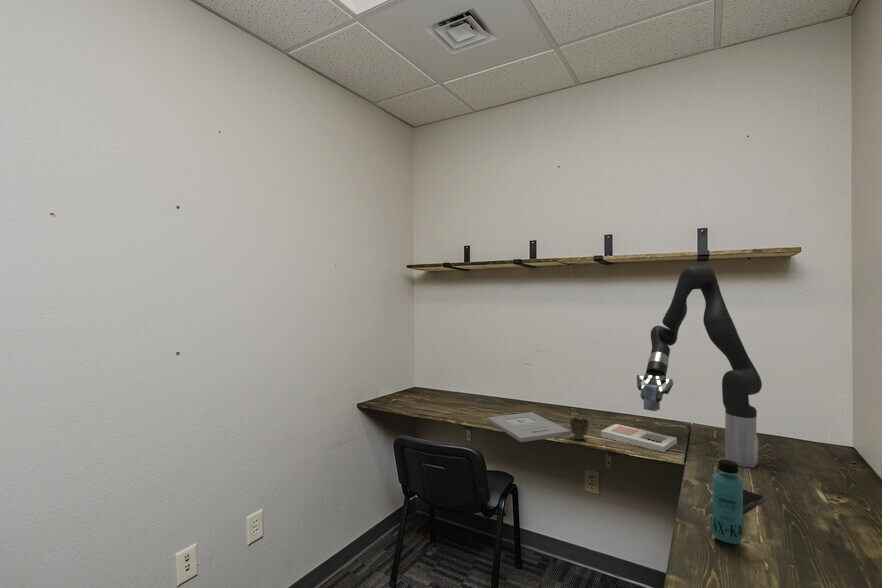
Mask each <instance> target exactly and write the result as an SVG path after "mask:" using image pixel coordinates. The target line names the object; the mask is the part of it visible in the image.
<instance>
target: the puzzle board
mask: <svg viewBox="0 0 882 588" xmlns="http://www.w3.org/2000/svg"><path fill="white" fill-rule="evenodd" d="M600 437H601V438H605V439H607V438H608V439H607V440H611V439H612V441H615V440H616V441H615V442H619V441H620V443H623V442H624V444H627V443H629V444H628V445H630V444H633V445H632V446H634V445H637V446H636V447H638V446H641V447H640V448H642V447H646V448H650V449H654V450H658V451H662V452H665V451H666V450H668V449H669V448H671V447H672V446H673V445H675V444H676V443H677V442H678V438H677V437H675V436H671V435H670V436H669V435H665V434H661V433H657V432H653V431H649V430H645V429H641V428H640V429H639V428H636V427H632V426H626V425H622V424H618V423H614V424H612V425H610V426H608V427H606V428H603V429H602V430H601V431H600ZM648 439H650V440H648ZM652 440H655V441H652ZM656 441H659V442H656ZM660 442H661V443H660ZM677 444H678V443H677ZM677 444H676V445H677ZM676 445H675V446H676ZM673 447H674V446H673ZM673 447H672V448H673ZM646 448H645V449H646ZM672 448H671V449H672ZM650 449H649V450H650ZM654 450H653V451H654ZM669 450H670V449H669ZM669 450H668V451H669ZM666 452H667V451H666ZM666 452H665V453H666Z"/></svg>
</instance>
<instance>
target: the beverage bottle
mask: <svg viewBox="0 0 882 588" xmlns="http://www.w3.org/2000/svg"><path fill="white" fill-rule="evenodd" d="M717 470H719V471H720V472H717V473H715V474H714V475H713V476H712V498H711V500H712V501H711V516H710V517H711V518H710V519H711V521H710V522H711V525H710V526H711V532H712V535H713V536H714V537H715V538H716V539H718V540H720V541H722V542H725V543H727V544H739V543H742V540H743V535H744V523H743V522H744V513H743V512H744V511H743V507H744V506H743V489H744V482H743V480H742V479H741V478H740V477H738V476H737V475H736V474H739V466H738V464H737V463H736V462H733V461H730V460H725V459H720V460H718V466H717Z"/></svg>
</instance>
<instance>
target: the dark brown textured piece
mask: <svg viewBox="0 0 882 588" xmlns="http://www.w3.org/2000/svg"><path fill="white" fill-rule="evenodd" d="M569 422H570V423H569V425H570V431H571V434H573V435H574V439H575V440H578V441H583V440H584V438H585V436H586V435H587V433H588V430H589V429H588V428H589V424H590V423H589V420H588V418H584V417H581V419H580V417H570V418H569Z"/></svg>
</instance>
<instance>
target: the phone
mask: <svg viewBox="0 0 882 588" xmlns="http://www.w3.org/2000/svg"><path fill="white" fill-rule="evenodd" d="M765 500H766V497H765V496H763V495H761V494H758V493H756V492H755V493H754V492H752V491H749V490H746V489H744V488H743V506H744V507H743V511H744V512H743V514H746V513H747V512H749V511H751V510H752V509H754V508H755V507H757V506H758V505H760V504H761V503H764V502H765ZM753 507H754V508H753ZM745 512H746V513H745Z"/></svg>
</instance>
